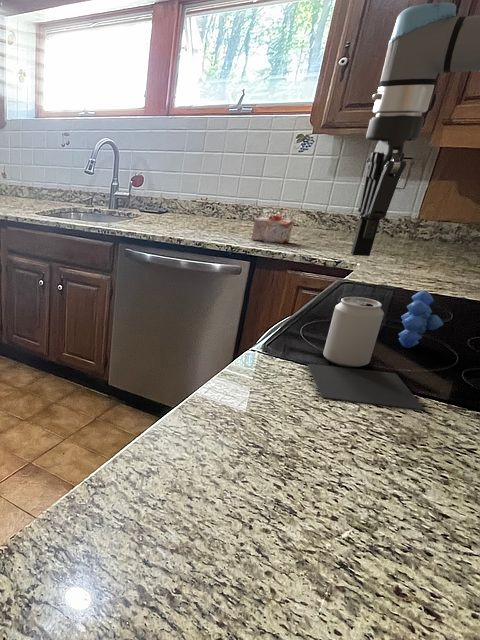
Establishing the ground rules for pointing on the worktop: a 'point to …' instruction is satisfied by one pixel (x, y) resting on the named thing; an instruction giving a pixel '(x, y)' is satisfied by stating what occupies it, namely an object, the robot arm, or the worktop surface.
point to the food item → (272, 229)
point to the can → (353, 331)
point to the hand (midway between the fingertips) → (360, 254)
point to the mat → (363, 386)
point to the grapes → (418, 319)
